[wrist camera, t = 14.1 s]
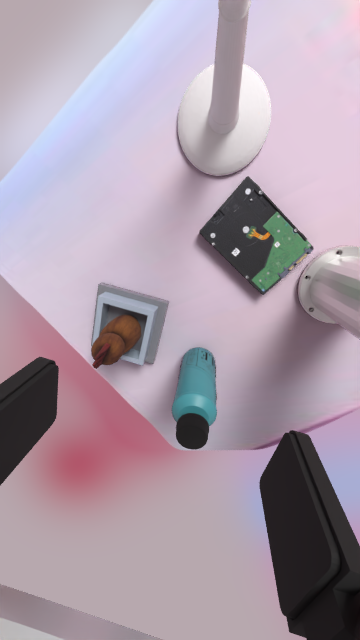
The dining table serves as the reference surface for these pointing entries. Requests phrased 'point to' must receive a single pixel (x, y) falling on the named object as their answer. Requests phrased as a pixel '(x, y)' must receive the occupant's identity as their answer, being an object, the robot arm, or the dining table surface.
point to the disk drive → (256, 237)
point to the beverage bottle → (195, 398)
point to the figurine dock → (138, 306)
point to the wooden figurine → (115, 340)
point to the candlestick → (225, 102)
